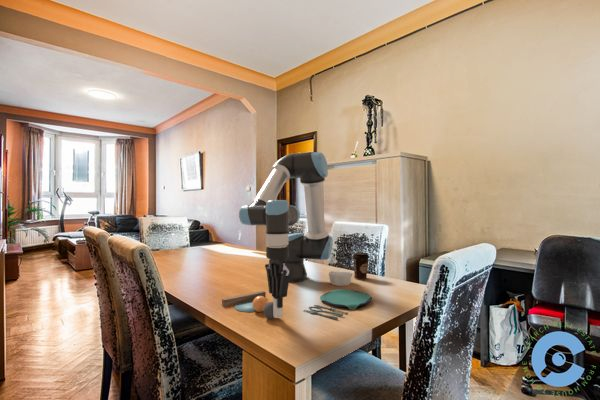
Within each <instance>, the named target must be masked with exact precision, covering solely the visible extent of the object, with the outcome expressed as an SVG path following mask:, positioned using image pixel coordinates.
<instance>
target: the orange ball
mask: <svg viewBox="0 0 600 400" xmlns="http://www.w3.org/2000/svg"><path fill="white" fill-rule="evenodd" d="M267 303H269V302H268V299H267V298H265V297H263V296H257V297H256V298H255V299H254V300H253V308H254V309H255V310H256V311H257V312H259V313H260V312H263V309H264V306H265V305H266V304H267Z"/></svg>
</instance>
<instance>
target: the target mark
mask: <svg viewBox="0 0 600 400" xmlns="http://www.w3.org/2000/svg"><path fill="white" fill-rule="evenodd" d="M234 309H235V310H237V311H238V312H242V313H256V312H258V311H256V310H255V309H254V308H253V300H251V301H247V302H242V303H237V304H235V305H234Z"/></svg>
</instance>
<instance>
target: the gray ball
mask: <svg viewBox="0 0 600 400" xmlns="http://www.w3.org/2000/svg"><path fill="white" fill-rule="evenodd" d="M262 312H263V314H264V317H265V318H266V319H269V320H273V319H275V318H274V317H273V301H270V302H268V303H267V304H266V305H265V306H264V309H263V311H262Z"/></svg>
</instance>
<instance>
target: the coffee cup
mask: <svg viewBox="0 0 600 400" xmlns="http://www.w3.org/2000/svg"><path fill="white" fill-rule="evenodd" d="M369 258H370V256H369V254H368V253H367V252H354V253H353V255H352V261H353V272H354V276H353V277H354V279H355V280H361V281H362V280H366V279H367V277H368V276H367V275H368V274H367V273H368V269H369Z"/></svg>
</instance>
